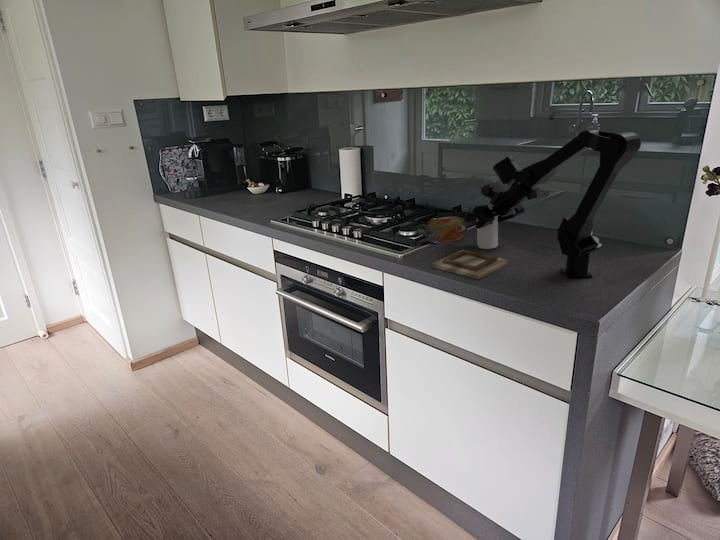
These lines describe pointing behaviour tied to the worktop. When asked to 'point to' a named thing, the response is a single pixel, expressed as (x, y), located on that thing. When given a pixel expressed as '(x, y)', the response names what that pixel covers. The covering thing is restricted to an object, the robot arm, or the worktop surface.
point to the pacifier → (596, 240)
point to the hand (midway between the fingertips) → (483, 225)
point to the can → (488, 235)
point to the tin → (446, 229)
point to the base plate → (470, 264)
